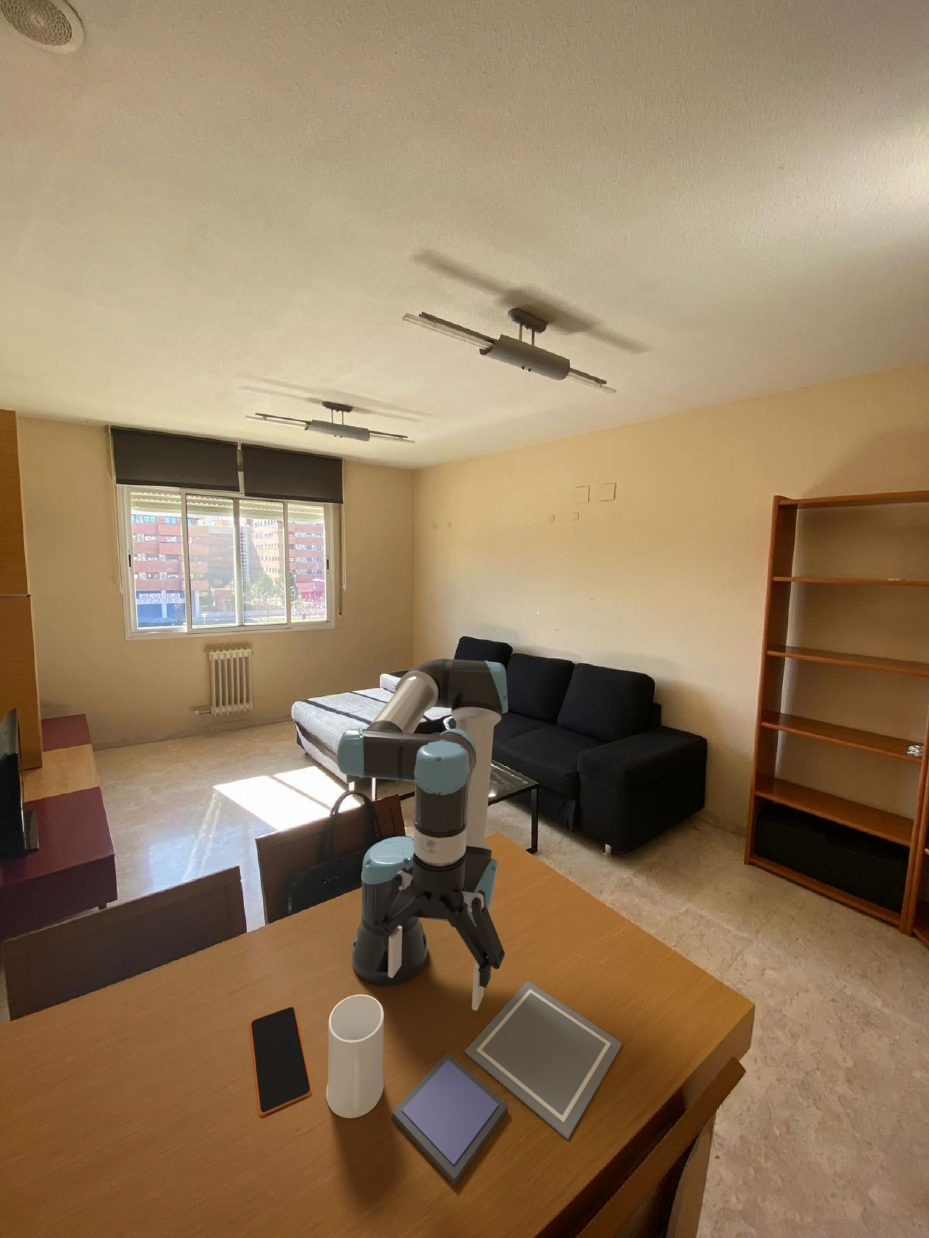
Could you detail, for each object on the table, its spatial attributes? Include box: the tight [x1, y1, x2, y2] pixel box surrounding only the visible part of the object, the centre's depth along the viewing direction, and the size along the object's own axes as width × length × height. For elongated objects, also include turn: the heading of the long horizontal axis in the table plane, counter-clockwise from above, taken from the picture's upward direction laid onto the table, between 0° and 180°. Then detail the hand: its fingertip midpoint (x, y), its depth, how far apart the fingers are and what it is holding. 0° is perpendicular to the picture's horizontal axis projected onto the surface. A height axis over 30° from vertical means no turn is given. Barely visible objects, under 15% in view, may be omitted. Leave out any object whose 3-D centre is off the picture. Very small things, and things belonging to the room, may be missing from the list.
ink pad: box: [391, 1052, 509, 1186], centre depth 73 cm, size 12×12×1 cm
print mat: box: [463, 980, 623, 1141], centre depth 84 cm, size 19×19×1 cm
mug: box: [325, 994, 385, 1119], centre depth 74 cm, size 12×8×12 cm
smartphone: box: [249, 1006, 313, 1118], centre depth 81 cm, size 8×17×1 cm, turn 28°
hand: (434, 986), depth 75 cm, fingers open, 13 cm apart
